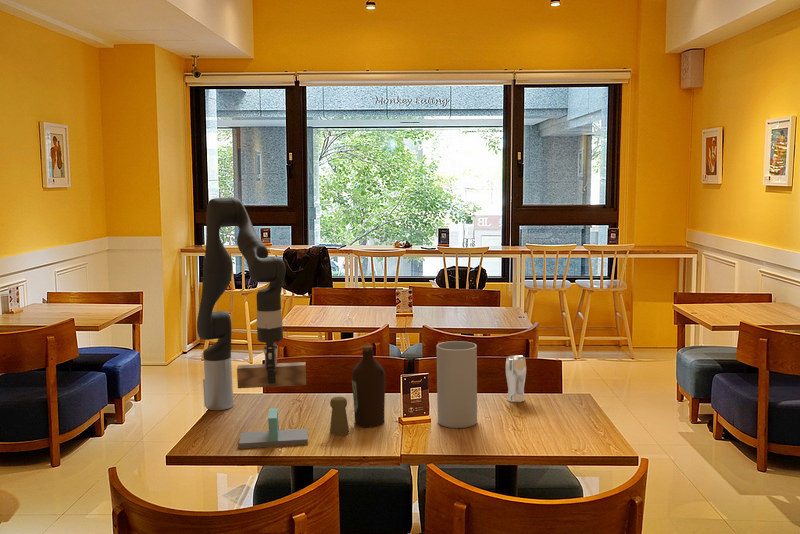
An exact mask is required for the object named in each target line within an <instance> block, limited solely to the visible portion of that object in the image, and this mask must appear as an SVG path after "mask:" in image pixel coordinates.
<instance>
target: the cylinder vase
mask: <svg viewBox="0 0 800 534" xmlns="http://www.w3.org/2000/svg"><path fill="white" fill-rule="evenodd" d="M477 345H478V344H476V343H474V342H469V341H464V340H463V341H461V340H460V341H459V340H455V341H454V340H452V341H443V342H441V343H440V342H439V343H437V344H436V388H437V389H436V394H437V396H436V397H437V398H436V400H437V403H436V404H437V405H436V406H437V407H436V408H437V423H438V424H439V425H441V426H442V427H444V428H449V429H465V428H466V429H467V428H470V427H474V426H475V425H476V424H477V422H478V370H477V369H478V367H477V365H478V364H477V358H478V357H477V356H478V352H477V349H478V346H477Z"/></svg>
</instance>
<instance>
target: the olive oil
mask: <svg viewBox="0 0 800 534" xmlns="http://www.w3.org/2000/svg"><path fill="white" fill-rule="evenodd" d="M373 348H374V346H373V345H369V344H367V345H363V346H362V358H361V359H360V361H358V363H357V364H356V365H355V366H354V368H353V370H352V373H351V385H352V387H351V388H352V397H353V398H352V399H353V411H354V423H355V425H356V426H357V427H360V426H361V427H362V428H375V427H380V426H383V425H384V424H385V402H386V401H385V397H386V373H385V369H384V367H383V366H382V365H381V364H380V363H379V362H378V361H377V360H376V359H375V358H374V350H373ZM361 427H360V428H361Z"/></svg>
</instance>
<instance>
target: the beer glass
mask: <svg viewBox="0 0 800 534" xmlns="http://www.w3.org/2000/svg"><path fill="white" fill-rule="evenodd" d="M526 363H527V362H526V357H525V356H523V355H509V356H506V361H505V376H506V382H507V388H508V389H507V390H508V391H507V397H506V398H507V399H506V400H507V401H508V402H511V403H522V402H525V401H526V397H525V382H526V375H527V364H526Z"/></svg>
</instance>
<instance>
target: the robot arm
mask: <svg viewBox="0 0 800 534" xmlns="http://www.w3.org/2000/svg"><path fill="white" fill-rule="evenodd" d="M205 213H206V214H205V215H206V218H205V220H206V221H205V222H206V227H205V229H206V230H205V231H206V232H205V233H206V234H205V238H206V239H205V251H204V252H205V253H204V261H203V269H202V271H203V272H202V286H201V295H200V296H201V297H200V303H199V309H198V314H197V321H196V331H197V332H196V333H197V335H198V337H199V339H201V340H203V341H210V340H215V339H216V340H217V341H216V342H215V343H214V344H213V345H211V346H209V347H208V348H205V349H204V351H203V355H202V358H203V370H204V372H203V374H204V376H203V377H204V379H202V383H203V384H202V386H203V402H204V403H203V404H204V406H203V407H205V408H206V409H207V410H209V411H223V410H229V409H232V407H233V406H234V390H233V387H234V386H233V371H232V370H233V368H232V321H231V320H232V319H231V316H230V313H229V312H228V311H226V310H218V311H214V308H215V306H216V303H217V302H218V301H219V299H220V298H221V297H222V295H223V294H224V293H225V291H226V290H227V289H228V287H229V286H230V284H231V281H232V275H233V267H234V266H233V264H234V263H233V260H232V257H231V255H230V254H229V252H228V250H227V249H226V247H225V246H224V245H223V242H222V239H221V235H220V233H221V228H229V227H235V226H236V227H238V228H239V232H238V235H237V239H236V244H237V248H238V250H239V252H240V253H241V255H242V256H243V258H244V260H245V261H246V263H247V268H248V273H249V277H250V278H251V280H253V281H254V282H256V283H264V282H269V283H268V286H267V287H265V288H262V289H261V290H258V291H257V292H256V297H255V298H256V335H257V338H256V339H257V342H259V343H265V345H264V346H263V354H264V364H266V367H267V368H266V370H267V371H268V383H269V384H274V383H275V382H276V379H275V370H276V368H275V364H276V363H277V362H278V361H277V360H278V345H277V344H276V343H279V342H281V341H283V339H284V328H283V327H284V326H283V324H284V323H283V313H282V301H281V300H282V299H281V298H282V297H281V295H282V292H283V291H282V290H283V285H284V281H285V277H286V272H287V268H286V263H285V262H284V259H282V258H281V257H279V256H269V250H268V248H267V246H266V245H265V243H264V242H263V241H262V239H261V238H260V236H258V234H257V232H256V230H255V228H254V226H253V223H252V219H250V216H249V214H248V211H247V209H246V207H245V205H244V204H243V202H242V201H241V199H239V197H232V196H231V197H230V196H229V197H217V198H216V197H215V198H211V199H209V201H208V203H207V206H206V212H205ZM269 364H273V366H271V367H269Z"/></svg>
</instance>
